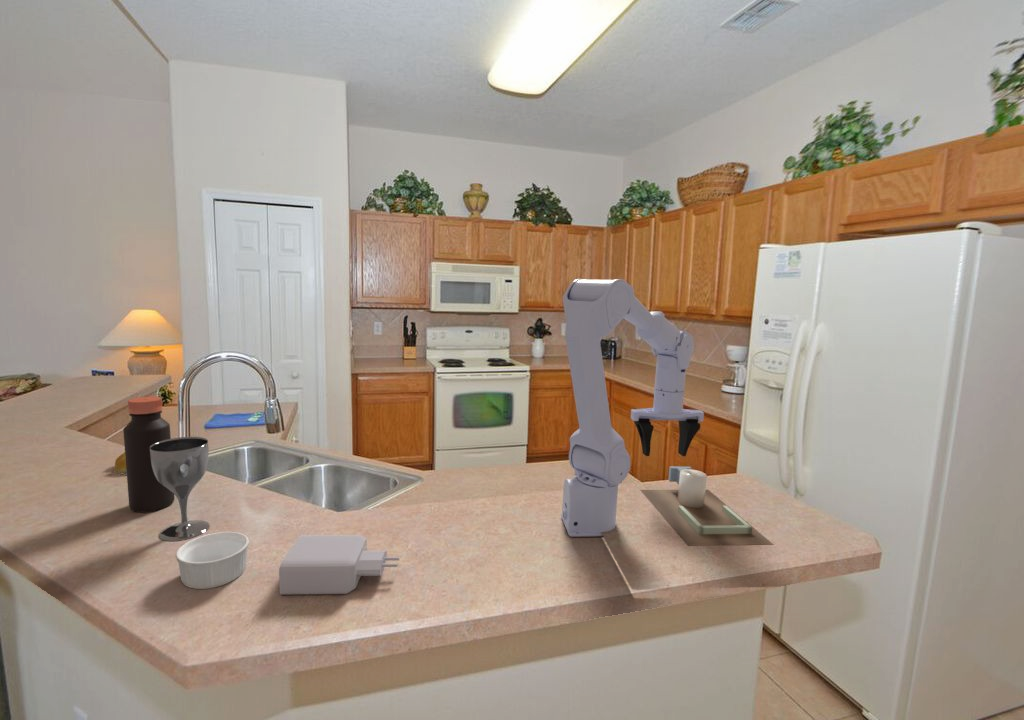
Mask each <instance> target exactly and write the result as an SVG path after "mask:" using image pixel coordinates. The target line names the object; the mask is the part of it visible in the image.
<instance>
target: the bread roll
mask: <svg viewBox="0 0 1024 720" xmlns="http://www.w3.org/2000/svg"><path fill="white" fill-rule="evenodd" d="M114 466H115V471H116V472H117V473H118V474H124V475H125V474H126V475H127V471H126V458H125V451H124V452H123V453H122V454H120V455H118V457H117V458H116V459H115V461H114Z"/></svg>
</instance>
